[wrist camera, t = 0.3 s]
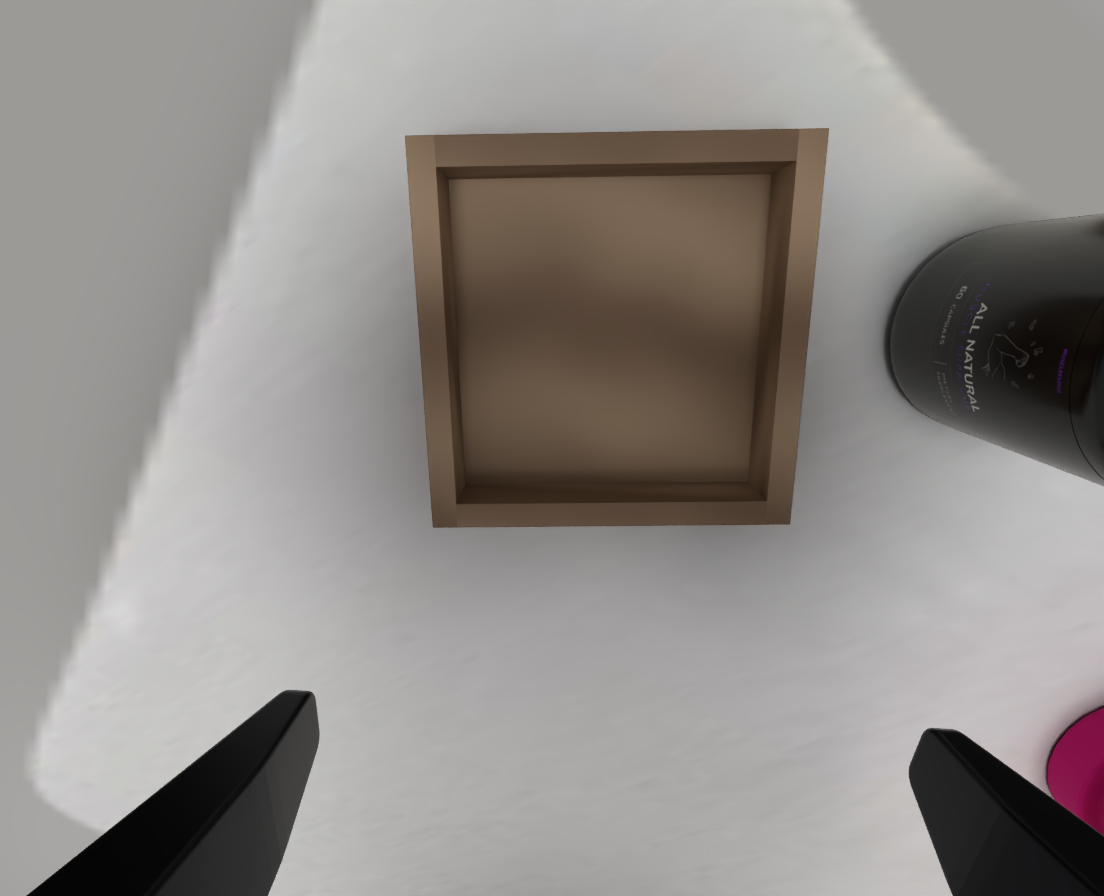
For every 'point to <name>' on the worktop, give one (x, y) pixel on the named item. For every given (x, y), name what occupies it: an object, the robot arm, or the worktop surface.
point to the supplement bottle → (1012, 340)
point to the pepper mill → (1081, 770)
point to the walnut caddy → (614, 323)
